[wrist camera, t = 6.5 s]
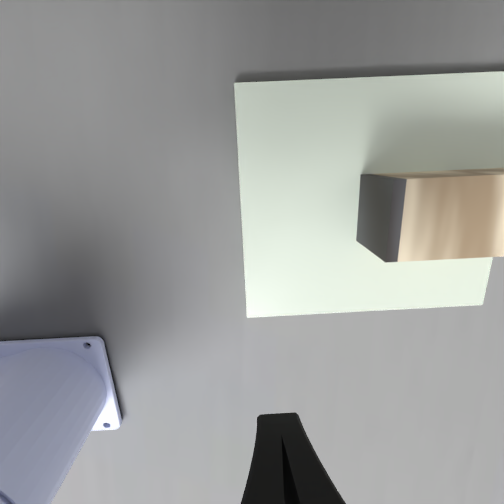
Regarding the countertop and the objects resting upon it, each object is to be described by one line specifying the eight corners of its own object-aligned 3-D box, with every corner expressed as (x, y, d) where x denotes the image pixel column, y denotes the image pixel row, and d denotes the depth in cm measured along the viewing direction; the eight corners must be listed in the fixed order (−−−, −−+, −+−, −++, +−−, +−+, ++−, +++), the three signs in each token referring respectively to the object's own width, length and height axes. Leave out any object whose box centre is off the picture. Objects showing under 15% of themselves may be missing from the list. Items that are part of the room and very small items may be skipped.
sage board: (246, 313, 21) (247, 317, 20) (234, 85, 16) (233, 82, 16) (475, 300, 21) (482, 304, 20) (523, 72, 16) (533, 69, 16)
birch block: (385, 262, 15) (583, 252, 15) (393, 179, 14) (610, 169, 14) (356, 240, 19) (514, 232, 19) (360, 174, 17) (530, 166, 17)
